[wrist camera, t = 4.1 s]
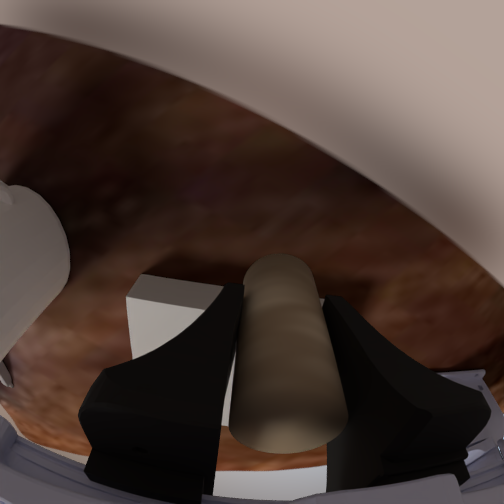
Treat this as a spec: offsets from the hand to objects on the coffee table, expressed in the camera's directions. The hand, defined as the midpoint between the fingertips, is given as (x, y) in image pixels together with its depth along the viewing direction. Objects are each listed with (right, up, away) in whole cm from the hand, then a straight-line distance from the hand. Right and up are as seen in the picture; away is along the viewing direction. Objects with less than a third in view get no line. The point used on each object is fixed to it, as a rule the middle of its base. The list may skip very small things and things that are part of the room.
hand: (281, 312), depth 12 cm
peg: (0, +1, +2) cm, 2 cm away
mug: (-19, +4, +9) cm, 21 cm away
